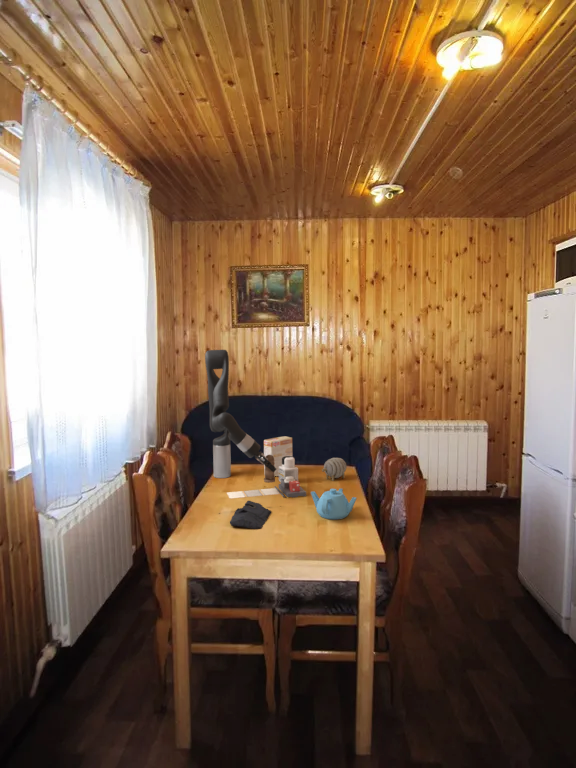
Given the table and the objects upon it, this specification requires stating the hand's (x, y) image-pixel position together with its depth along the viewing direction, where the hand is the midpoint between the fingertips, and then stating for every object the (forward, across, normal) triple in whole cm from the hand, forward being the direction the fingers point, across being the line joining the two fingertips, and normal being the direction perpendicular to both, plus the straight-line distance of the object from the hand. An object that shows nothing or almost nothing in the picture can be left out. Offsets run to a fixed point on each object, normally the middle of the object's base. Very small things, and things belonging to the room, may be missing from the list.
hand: (273, 469), depth 228 cm
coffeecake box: (+16, +33, 0) cm, 37 cm away
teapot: (+21, -34, -3) cm, 40 cm away
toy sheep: (+34, +16, -18) cm, 42 cm away
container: (+17, +17, 0) cm, 24 cm away
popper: (+15, 0, +2) cm, 15 cm away
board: (+1, 0, +15) cm, 15 cm away
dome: (+13, +4, 0) cm, 14 cm away
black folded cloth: (-3, -28, +22) cm, 36 cm away
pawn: (+3, 0, +5) cm, 6 cm away
